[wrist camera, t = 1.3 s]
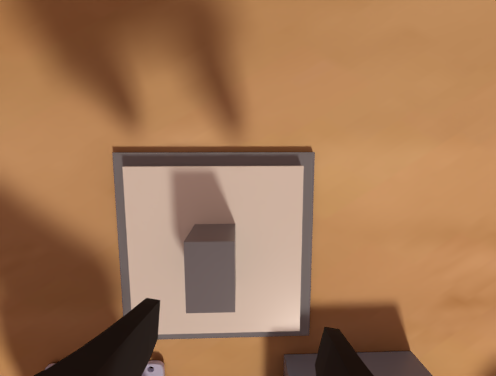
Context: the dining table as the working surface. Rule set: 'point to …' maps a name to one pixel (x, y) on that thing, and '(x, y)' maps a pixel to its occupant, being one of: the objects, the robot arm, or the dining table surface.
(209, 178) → the lid
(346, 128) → the dining table surface
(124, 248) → the mat
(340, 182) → the dining table surface
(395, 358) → the open box
